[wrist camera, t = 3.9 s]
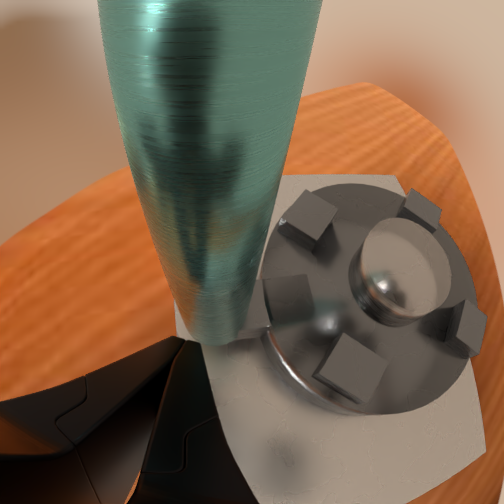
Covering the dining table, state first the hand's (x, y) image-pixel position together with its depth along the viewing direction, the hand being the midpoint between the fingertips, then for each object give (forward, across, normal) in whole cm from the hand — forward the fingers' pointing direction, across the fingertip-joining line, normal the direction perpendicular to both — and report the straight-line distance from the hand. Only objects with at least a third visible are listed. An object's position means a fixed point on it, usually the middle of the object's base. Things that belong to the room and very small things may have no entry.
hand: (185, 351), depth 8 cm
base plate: (+8, -7, +3) cm, 11 cm away
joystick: (+7, -6, +1) cm, 9 cm away
